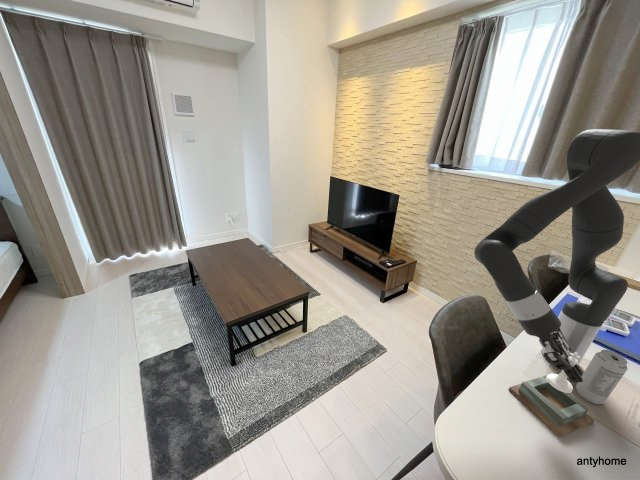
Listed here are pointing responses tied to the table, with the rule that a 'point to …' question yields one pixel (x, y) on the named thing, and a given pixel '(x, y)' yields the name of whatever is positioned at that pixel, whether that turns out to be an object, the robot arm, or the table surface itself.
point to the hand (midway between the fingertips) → (577, 377)
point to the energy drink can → (601, 376)
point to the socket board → (546, 420)
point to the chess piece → (562, 377)
